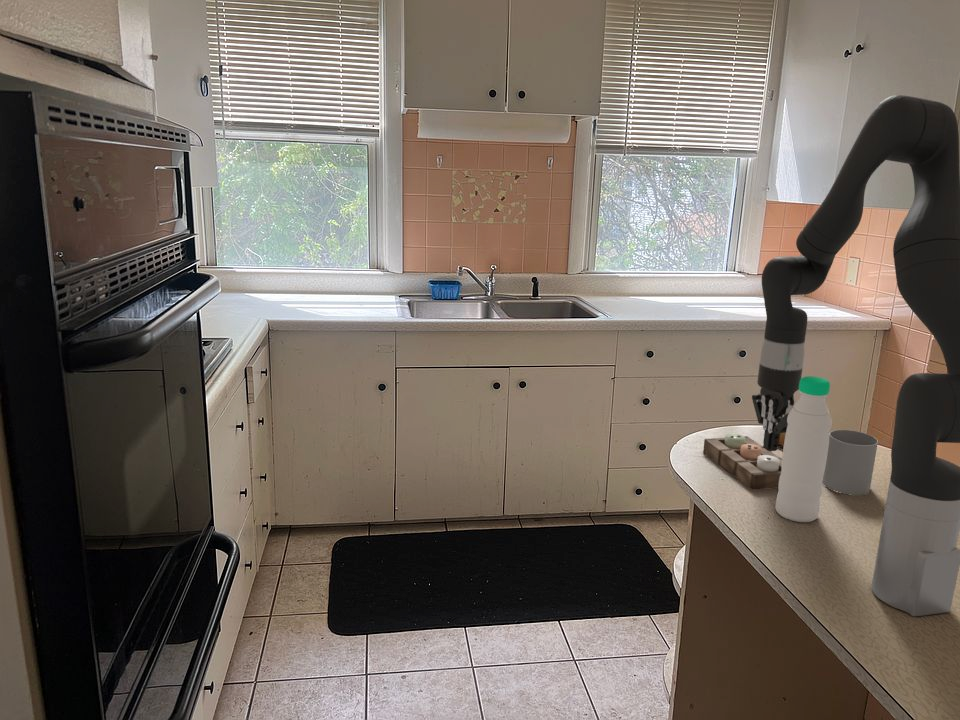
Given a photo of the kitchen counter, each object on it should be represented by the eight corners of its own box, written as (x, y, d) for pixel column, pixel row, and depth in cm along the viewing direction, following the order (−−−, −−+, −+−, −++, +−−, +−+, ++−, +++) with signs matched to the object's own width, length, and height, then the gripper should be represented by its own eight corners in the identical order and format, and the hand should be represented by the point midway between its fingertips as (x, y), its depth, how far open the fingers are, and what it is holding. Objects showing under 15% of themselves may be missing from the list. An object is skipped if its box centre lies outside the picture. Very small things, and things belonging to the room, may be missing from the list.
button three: (764, 464, 149) (766, 449, 148) (746, 465, 148) (748, 451, 148) (753, 456, 153) (754, 442, 152) (735, 458, 152) (737, 443, 151)
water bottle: (822, 526, 128) (843, 386, 121) (778, 521, 129) (797, 383, 122) (812, 507, 134) (832, 374, 128) (771, 503, 136) (789, 371, 129)
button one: (782, 476, 144) (784, 461, 143) (763, 478, 143) (765, 463, 142) (770, 468, 147) (771, 453, 147) (751, 469, 146) (753, 455, 146)
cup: (880, 491, 141) (888, 442, 139) (847, 498, 138) (855, 448, 136) (844, 474, 149) (851, 427, 146) (812, 480, 146) (819, 432, 143)
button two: (747, 453, 155) (749, 439, 154) (730, 454, 154) (731, 440, 153) (737, 446, 159) (739, 432, 158) (720, 447, 158) (721, 433, 157)
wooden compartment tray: (799, 486, 143) (801, 471, 142) (752, 489, 141) (754, 475, 140) (745, 449, 161) (747, 436, 160) (703, 452, 159) (704, 439, 158)
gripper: (821, 372, 134) (808, 461, 138) (778, 353, 146) (767, 436, 151) (784, 374, 132) (772, 464, 137) (743, 354, 145) (734, 438, 149)
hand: (770, 449), depth 144 cm, fingers closed
